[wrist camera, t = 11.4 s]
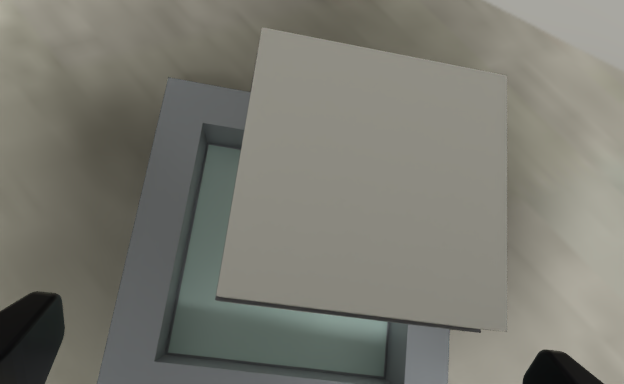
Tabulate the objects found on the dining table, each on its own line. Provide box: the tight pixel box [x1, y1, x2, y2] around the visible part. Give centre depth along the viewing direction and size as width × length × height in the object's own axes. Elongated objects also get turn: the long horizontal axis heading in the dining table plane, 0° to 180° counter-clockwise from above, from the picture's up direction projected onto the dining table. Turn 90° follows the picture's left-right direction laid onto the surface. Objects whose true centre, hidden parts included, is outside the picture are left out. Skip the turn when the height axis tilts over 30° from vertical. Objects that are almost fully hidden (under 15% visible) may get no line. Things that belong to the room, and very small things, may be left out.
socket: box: [97, 77, 450, 384], centre depth 16 cm, size 11×11×2 cm
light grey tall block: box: [215, 27, 507, 333], centre depth 12 cm, size 4×4×11 cm
